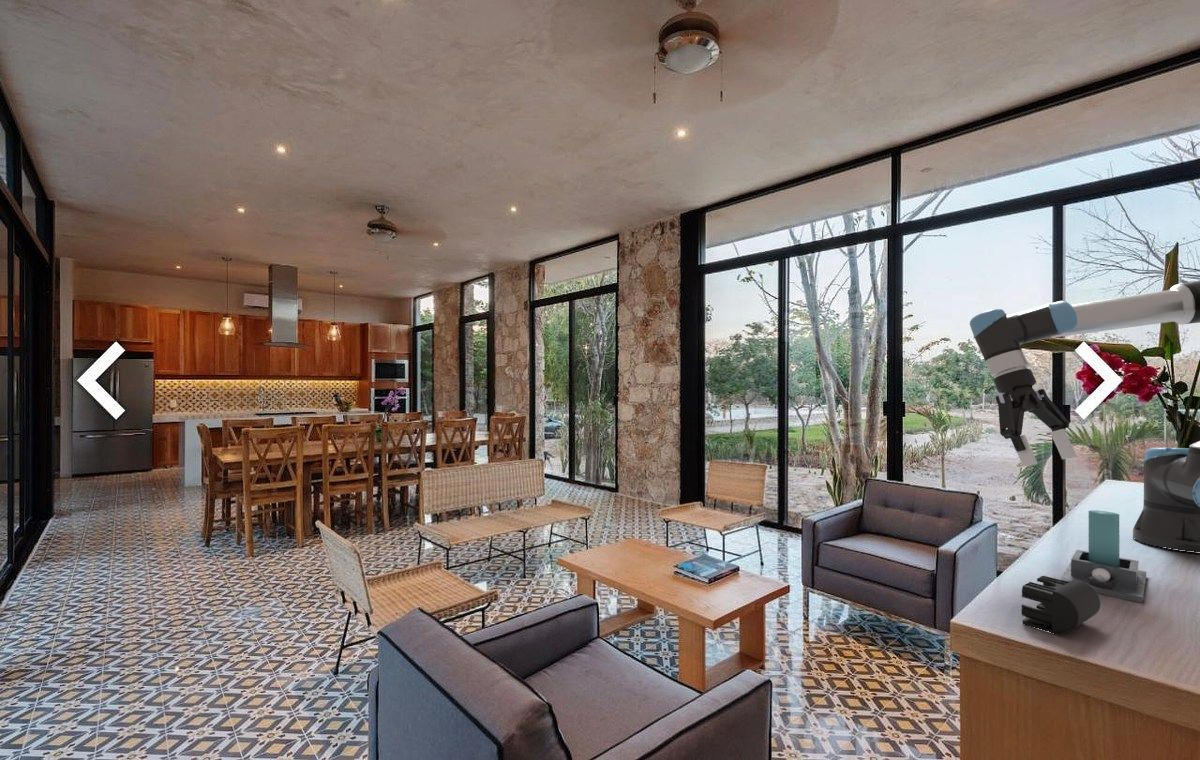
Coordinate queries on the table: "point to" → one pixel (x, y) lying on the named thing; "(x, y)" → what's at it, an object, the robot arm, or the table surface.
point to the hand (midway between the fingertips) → (1050, 461)
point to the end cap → (1059, 604)
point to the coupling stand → (1108, 576)
